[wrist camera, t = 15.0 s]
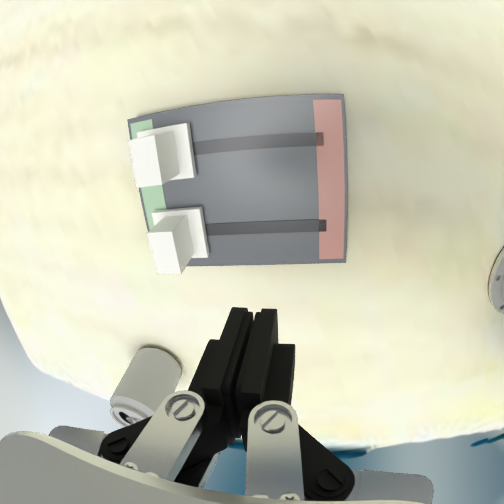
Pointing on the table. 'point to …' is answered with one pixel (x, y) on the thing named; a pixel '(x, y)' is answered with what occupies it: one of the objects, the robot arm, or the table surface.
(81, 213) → the table surface
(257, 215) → the slider switch panel
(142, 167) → the breaker
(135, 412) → the can
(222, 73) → the table surface
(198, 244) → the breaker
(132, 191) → the table surface
